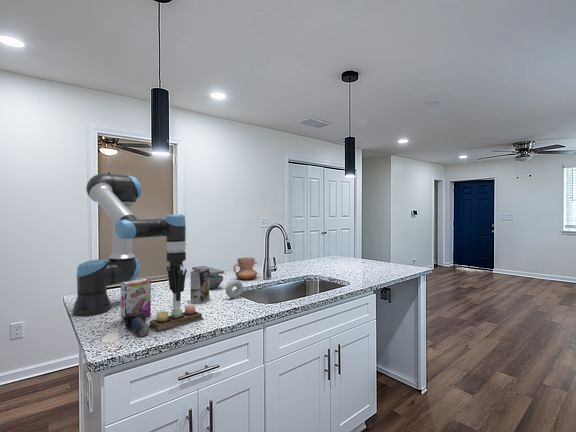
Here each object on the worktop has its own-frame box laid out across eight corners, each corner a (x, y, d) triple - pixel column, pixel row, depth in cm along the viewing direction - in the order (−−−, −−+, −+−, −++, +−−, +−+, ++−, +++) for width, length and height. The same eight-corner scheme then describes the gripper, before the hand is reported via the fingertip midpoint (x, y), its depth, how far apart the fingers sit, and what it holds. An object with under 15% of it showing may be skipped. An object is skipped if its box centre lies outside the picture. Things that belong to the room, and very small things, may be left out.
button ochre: (155, 319, 125) (155, 313, 125) (165, 317, 128) (165, 310, 128) (159, 322, 123) (159, 315, 123) (170, 319, 126) (170, 313, 126)
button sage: (169, 316, 130) (169, 309, 130) (179, 313, 133) (179, 307, 133) (174, 318, 127) (174, 312, 127) (183, 315, 130) (183, 309, 130)
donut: (227, 300, 162) (227, 281, 162) (224, 299, 165) (224, 280, 165) (244, 297, 169) (244, 278, 168) (240, 296, 171) (240, 277, 171)
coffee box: (201, 304, 156) (201, 272, 156) (190, 303, 158) (189, 271, 157) (210, 299, 165) (209, 268, 165) (198, 298, 167) (198, 268, 166)
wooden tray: (148, 326, 126) (148, 320, 126) (193, 314, 140) (193, 309, 140) (157, 332, 120) (157, 326, 120) (203, 319, 134) (203, 313, 134)
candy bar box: (125, 323, 130) (125, 284, 129) (120, 321, 133) (119, 282, 132) (151, 316, 138) (151, 279, 138) (146, 314, 141) (145, 278, 141)
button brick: (183, 312, 134) (182, 306, 134) (191, 310, 137) (191, 304, 137) (187, 314, 131) (187, 308, 131) (196, 312, 134) (196, 306, 134)
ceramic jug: (254, 275, 226) (253, 256, 225) (262, 279, 213) (261, 258, 213) (230, 278, 217) (229, 258, 217) (236, 282, 204) (236, 261, 204)
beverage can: (125, 333, 123) (135, 344, 114) (121, 315, 121) (131, 325, 113) (149, 323, 129) (160, 333, 120) (145, 306, 127) (156, 315, 119)
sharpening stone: (224, 289, 187) (224, 270, 187) (212, 291, 181) (212, 272, 181) (203, 282, 205) (203, 265, 205) (192, 284, 199) (192, 267, 199)
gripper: (192, 251, 128) (193, 309, 128) (177, 249, 137) (177, 302, 137) (175, 253, 122) (175, 313, 123) (160, 251, 131) (161, 306, 131)
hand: (176, 307), depth 130 cm, fingers closed
